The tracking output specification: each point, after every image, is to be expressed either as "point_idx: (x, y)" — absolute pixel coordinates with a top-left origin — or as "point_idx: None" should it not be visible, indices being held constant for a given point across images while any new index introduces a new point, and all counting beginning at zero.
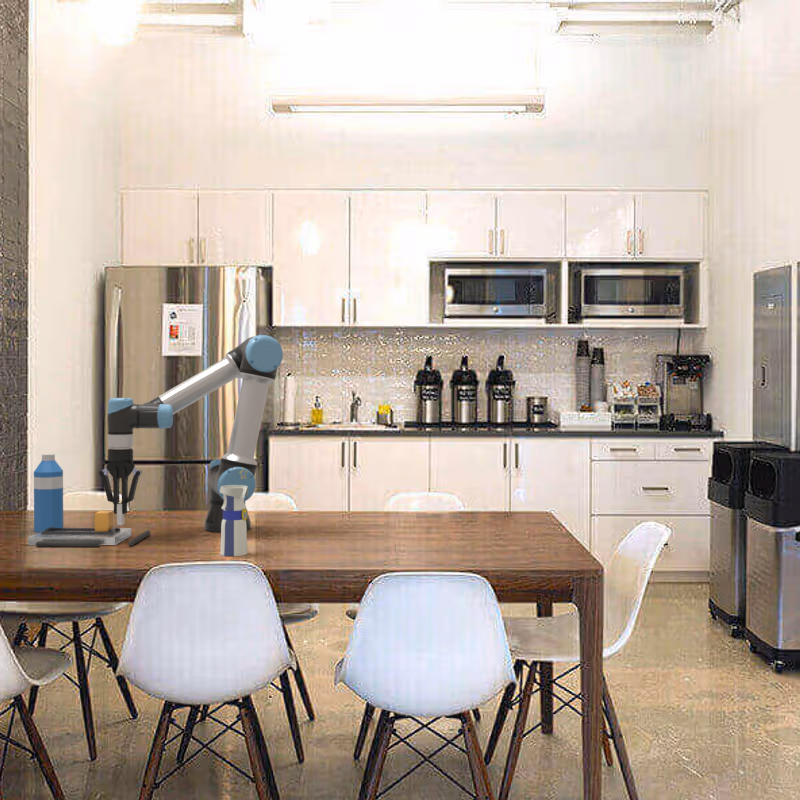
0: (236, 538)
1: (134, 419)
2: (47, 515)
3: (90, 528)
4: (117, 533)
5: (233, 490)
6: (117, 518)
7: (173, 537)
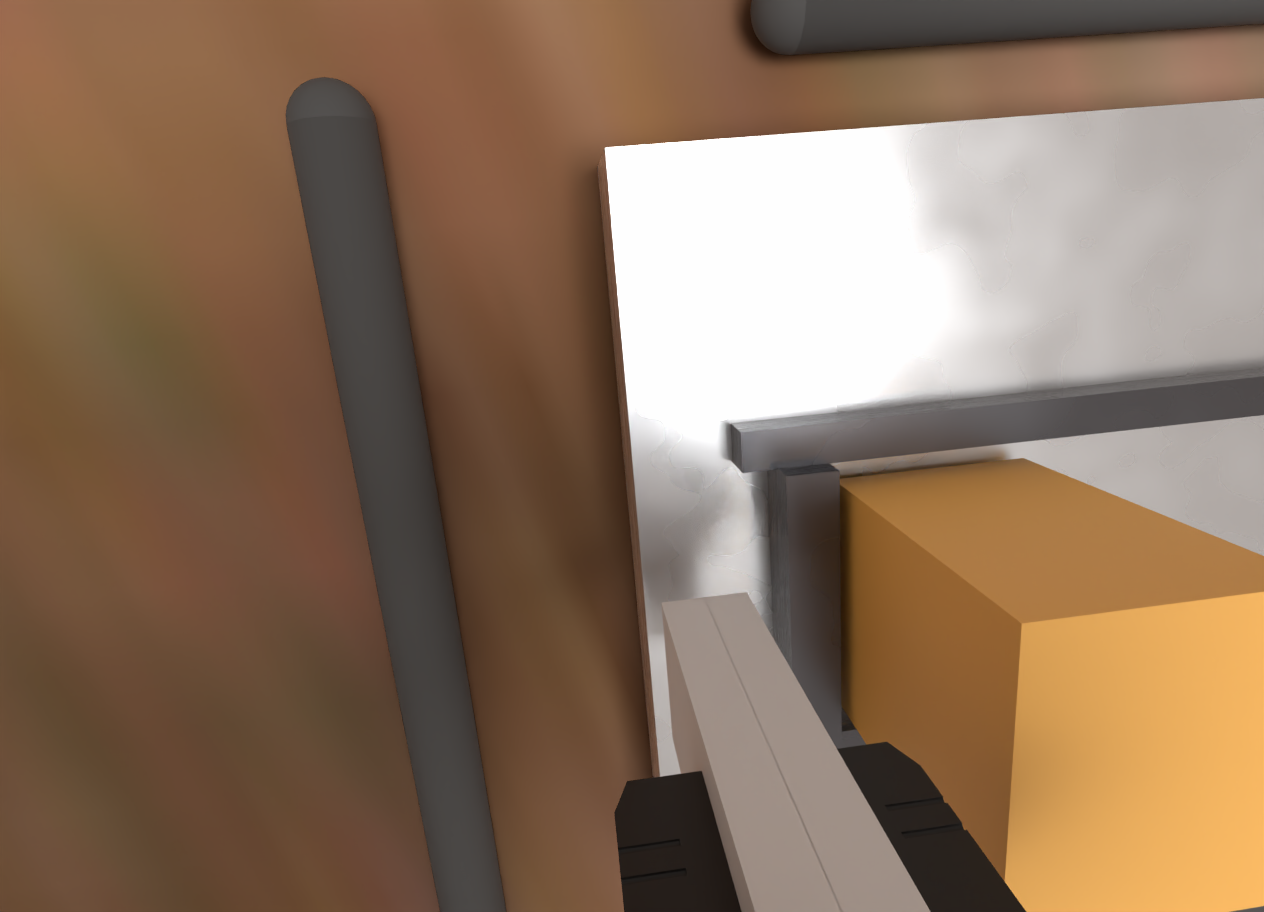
0: None
1: None
2: None
3: None
4: (701, 523)
5: None
6: (769, 654)
7: (107, 866)
